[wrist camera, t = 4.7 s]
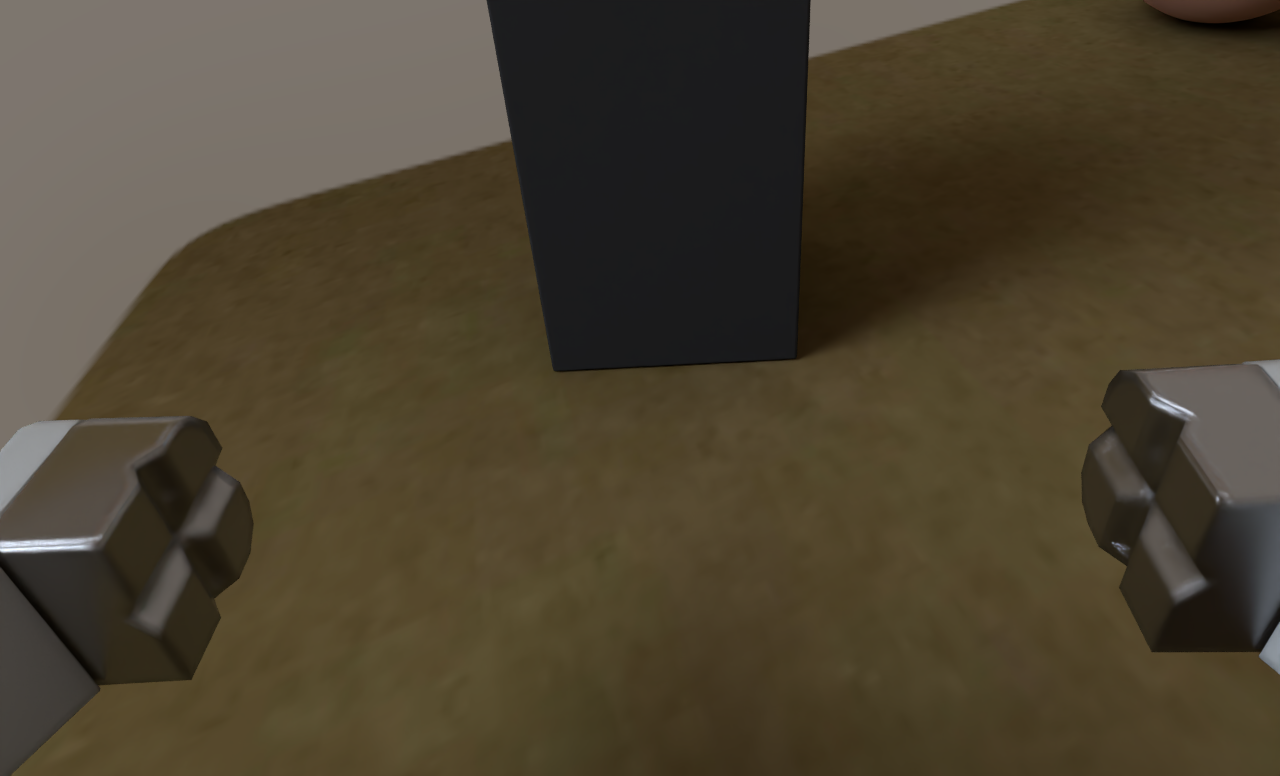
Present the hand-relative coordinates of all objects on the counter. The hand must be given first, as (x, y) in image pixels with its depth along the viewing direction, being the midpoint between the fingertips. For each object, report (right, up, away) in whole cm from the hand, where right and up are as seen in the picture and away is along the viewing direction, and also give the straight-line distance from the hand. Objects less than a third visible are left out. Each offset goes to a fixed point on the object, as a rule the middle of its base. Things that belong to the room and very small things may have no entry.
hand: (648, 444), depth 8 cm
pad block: (+1, +3, +12) cm, 12 cm away
